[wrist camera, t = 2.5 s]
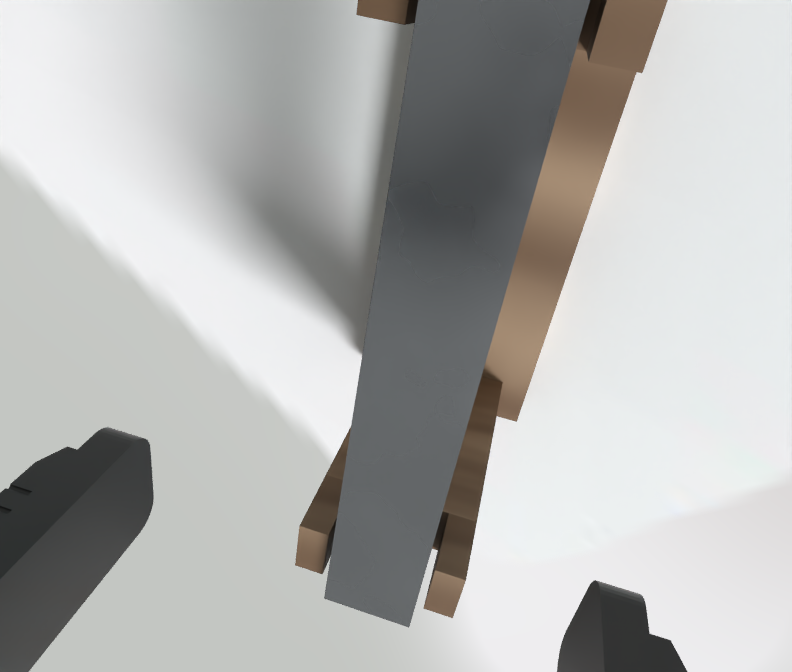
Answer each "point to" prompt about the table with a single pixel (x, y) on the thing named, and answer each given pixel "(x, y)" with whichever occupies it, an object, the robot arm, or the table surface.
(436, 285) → the steel bar
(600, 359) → the table surface
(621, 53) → the walnut stand
